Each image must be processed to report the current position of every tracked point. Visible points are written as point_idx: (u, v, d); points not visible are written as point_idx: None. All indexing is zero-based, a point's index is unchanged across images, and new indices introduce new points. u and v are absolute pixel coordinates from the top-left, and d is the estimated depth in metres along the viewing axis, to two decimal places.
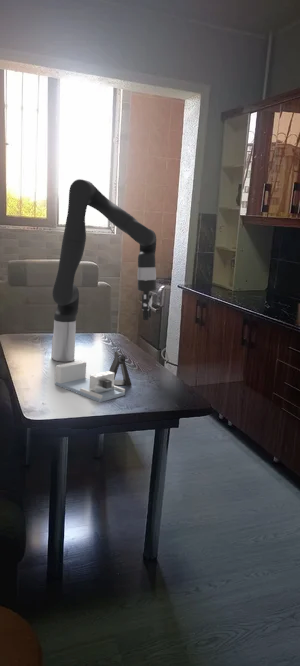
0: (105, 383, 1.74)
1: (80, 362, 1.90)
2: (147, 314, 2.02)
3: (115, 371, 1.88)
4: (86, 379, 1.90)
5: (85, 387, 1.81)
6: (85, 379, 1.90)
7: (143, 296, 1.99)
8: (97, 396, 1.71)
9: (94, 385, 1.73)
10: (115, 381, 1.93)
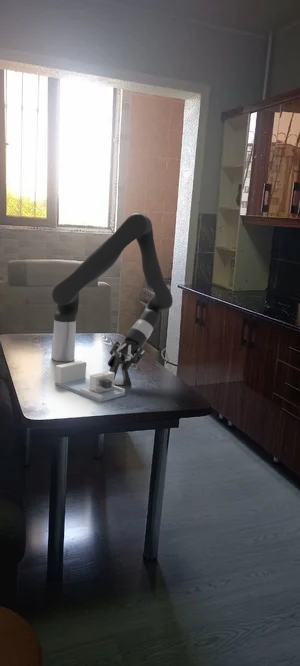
0: (105, 383, 1.74)
1: (80, 362, 1.90)
2: (128, 366, 1.88)
3: (115, 371, 1.88)
4: (86, 379, 1.90)
5: (85, 387, 1.81)
6: (85, 379, 1.90)
7: (142, 351, 1.89)
8: (97, 396, 1.71)
9: (94, 385, 1.73)
10: (115, 381, 1.93)
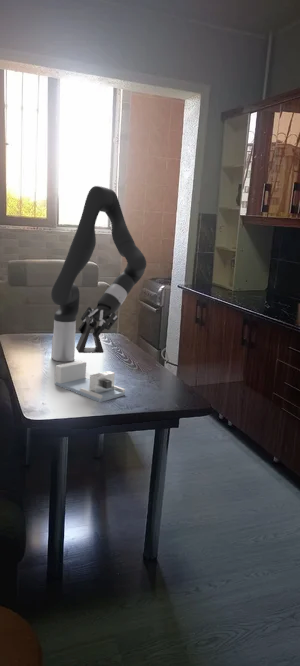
0: (105, 383, 1.74)
1: (80, 362, 1.90)
2: None
3: (86, 337, 1.77)
4: (86, 379, 1.90)
5: (85, 387, 1.81)
6: (85, 379, 1.90)
7: (114, 316, 1.78)
8: (97, 396, 1.71)
9: (94, 385, 1.73)
10: (86, 348, 1.82)
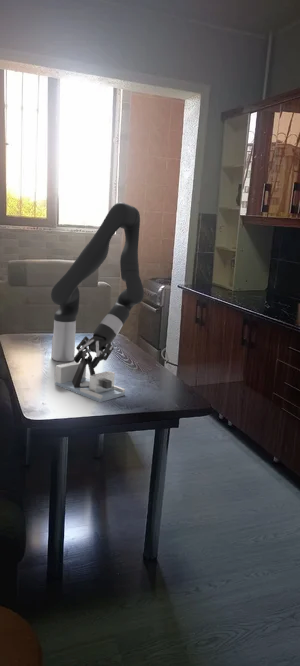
0: (105, 383, 1.74)
1: None
2: (97, 363, 1.79)
3: (81, 372, 1.79)
4: (86, 379, 1.90)
5: None
6: (85, 379, 1.90)
7: (110, 346, 1.80)
8: (97, 396, 1.71)
9: (94, 385, 1.73)
10: (82, 382, 1.84)
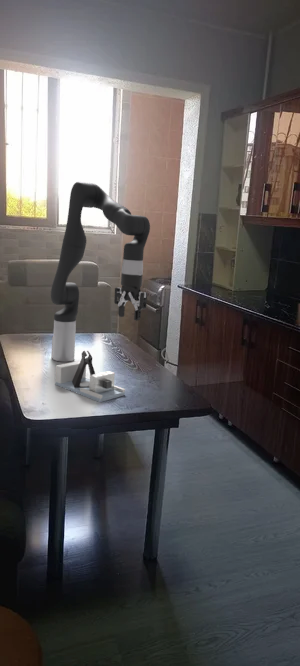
0: (105, 383, 1.74)
1: None
2: None
3: (81, 372, 1.79)
4: (86, 379, 1.90)
5: None
6: (85, 379, 1.90)
7: (144, 295, 1.77)
8: (97, 396, 1.71)
9: (94, 385, 1.73)
10: (82, 382, 1.84)
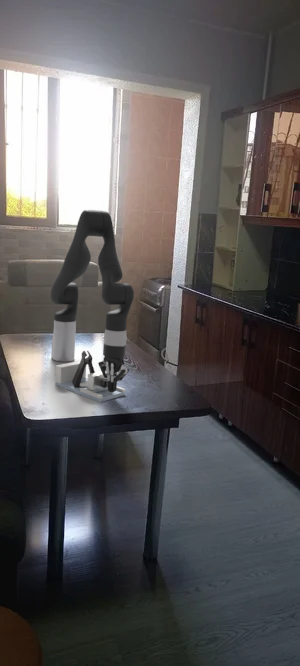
0: (103, 382, 1.75)
1: None
2: None
3: (81, 372, 1.79)
4: (86, 379, 1.90)
5: None
6: (85, 379, 1.90)
7: (124, 372, 1.69)
8: (97, 396, 1.71)
9: (92, 384, 1.74)
10: (82, 382, 1.84)
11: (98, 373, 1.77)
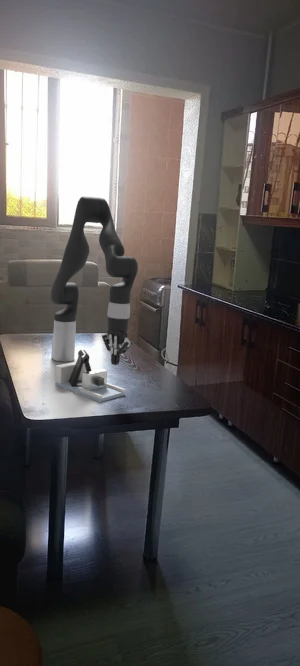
0: (97, 380, 1.77)
1: None
2: None
3: (78, 371, 1.80)
4: None
5: None
6: None
7: (127, 345, 1.70)
8: (97, 396, 1.71)
9: (87, 382, 1.76)
10: (79, 381, 1.85)
11: (93, 371, 1.79)
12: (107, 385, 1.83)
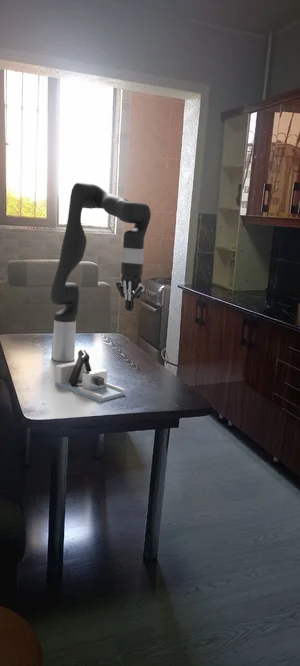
0: (97, 380, 1.77)
1: None
2: None
3: (78, 371, 1.80)
4: None
5: None
6: None
7: (141, 289, 1.74)
8: (97, 396, 1.71)
9: (87, 382, 1.76)
10: (79, 381, 1.85)
11: (93, 371, 1.79)
12: (107, 385, 1.83)
